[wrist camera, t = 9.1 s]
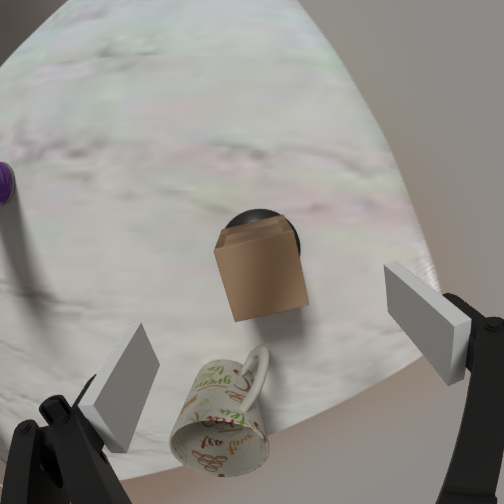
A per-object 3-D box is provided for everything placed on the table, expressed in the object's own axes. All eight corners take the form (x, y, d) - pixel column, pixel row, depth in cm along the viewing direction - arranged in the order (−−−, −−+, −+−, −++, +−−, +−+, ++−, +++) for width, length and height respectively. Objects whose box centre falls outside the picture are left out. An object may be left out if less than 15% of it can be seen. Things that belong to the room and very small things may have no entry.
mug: (176, 392, 33) (157, 459, 23) (221, 302, 30) (209, 365, 20) (243, 417, 34) (242, 485, 24) (299, 335, 31) (316, 403, 21)
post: (231, 293, 30) (226, 331, 23) (210, 220, 28) (197, 239, 21) (306, 275, 29) (322, 309, 22) (289, 200, 27) (303, 213, 21)
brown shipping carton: (238, 286, 28) (234, 322, 22) (222, 229, 27) (213, 251, 21) (296, 272, 28) (309, 304, 22) (283, 214, 27) (293, 231, 20)
